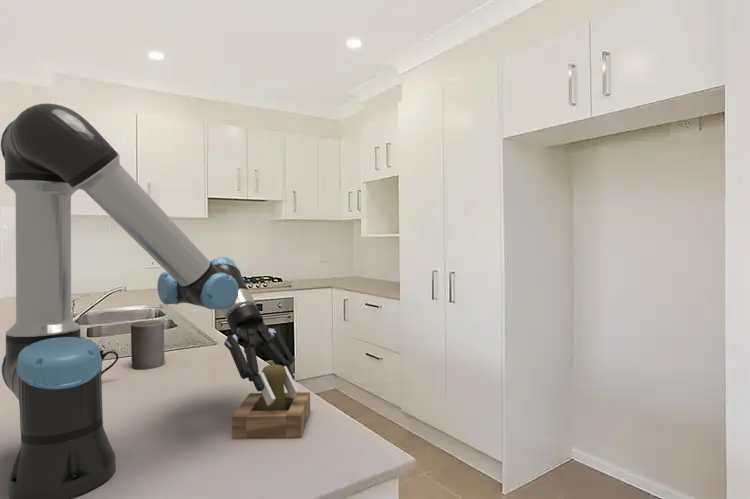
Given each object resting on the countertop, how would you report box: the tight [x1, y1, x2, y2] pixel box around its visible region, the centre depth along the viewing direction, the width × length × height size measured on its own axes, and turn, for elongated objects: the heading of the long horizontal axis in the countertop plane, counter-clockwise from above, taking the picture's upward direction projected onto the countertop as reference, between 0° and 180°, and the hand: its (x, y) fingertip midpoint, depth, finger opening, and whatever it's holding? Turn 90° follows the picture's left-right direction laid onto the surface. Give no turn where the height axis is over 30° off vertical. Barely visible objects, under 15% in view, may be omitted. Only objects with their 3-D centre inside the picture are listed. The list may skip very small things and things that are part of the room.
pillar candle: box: [130, 318, 166, 370], centre depth 150 cm, size 10×10×15 cm
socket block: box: [231, 391, 311, 440], centre depth 102 cm, size 14×14×4 cm
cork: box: [259, 363, 286, 411], centre depth 102 cm, size 6×6×11 cm
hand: (283, 398), depth 100 cm, fingers closed on cork, 5 cm apart
